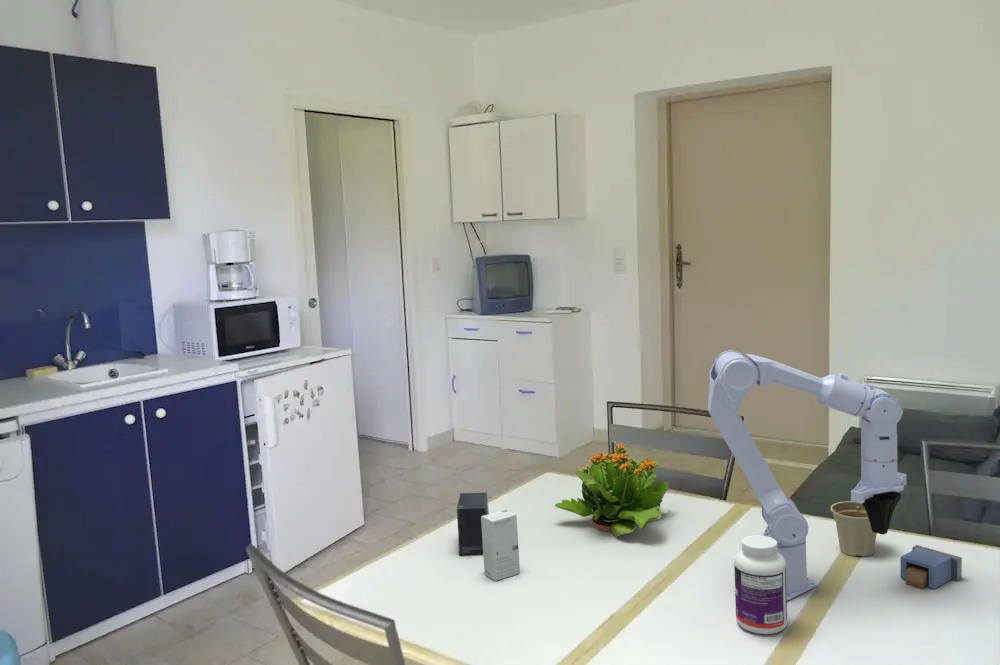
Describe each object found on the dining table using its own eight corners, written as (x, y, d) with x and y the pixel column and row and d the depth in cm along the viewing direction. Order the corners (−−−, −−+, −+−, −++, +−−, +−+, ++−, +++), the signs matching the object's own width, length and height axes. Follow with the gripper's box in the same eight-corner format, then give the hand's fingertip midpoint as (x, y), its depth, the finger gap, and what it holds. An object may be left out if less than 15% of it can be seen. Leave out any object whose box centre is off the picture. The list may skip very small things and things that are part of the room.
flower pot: (877, 564, 149) (876, 520, 148) (825, 555, 155) (824, 512, 154) (888, 547, 157) (887, 505, 156) (838, 538, 162) (837, 498, 161)
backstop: (957, 581, 140) (957, 560, 140) (912, 567, 147) (912, 547, 146) (961, 578, 141) (961, 557, 141) (916, 565, 148) (916, 544, 147)
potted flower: (546, 540, 172) (541, 462, 170) (568, 504, 194) (564, 435, 192) (662, 546, 164) (659, 465, 162) (671, 508, 187) (668, 436, 185)
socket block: (934, 588, 138) (934, 566, 137) (900, 577, 143) (900, 556, 142) (951, 578, 141) (951, 557, 141) (917, 568, 146) (917, 547, 146)
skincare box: (495, 582, 152) (491, 522, 151) (483, 574, 156) (479, 516, 155) (521, 573, 156) (517, 514, 154) (509, 566, 160) (505, 508, 158)
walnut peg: (923, 590, 138) (923, 574, 138) (906, 585, 141) (905, 569, 140) (939, 580, 142) (939, 564, 141) (922, 575, 144) (922, 559, 144)
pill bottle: (747, 609, 135) (745, 528, 134) (794, 621, 130) (792, 537, 128) (728, 628, 129) (725, 544, 127) (776, 642, 124) (774, 554, 122)
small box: (489, 554, 166) (486, 506, 165) (458, 556, 166) (455, 508, 165) (491, 536, 177) (487, 490, 175) (462, 537, 177) (458, 492, 176)
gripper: (878, 471, 131) (879, 549, 132) (923, 453, 139) (923, 527, 140) (839, 463, 136) (840, 538, 138) (884, 446, 145) (885, 517, 146)
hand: (879, 532), depth 140 cm, fingers closed
